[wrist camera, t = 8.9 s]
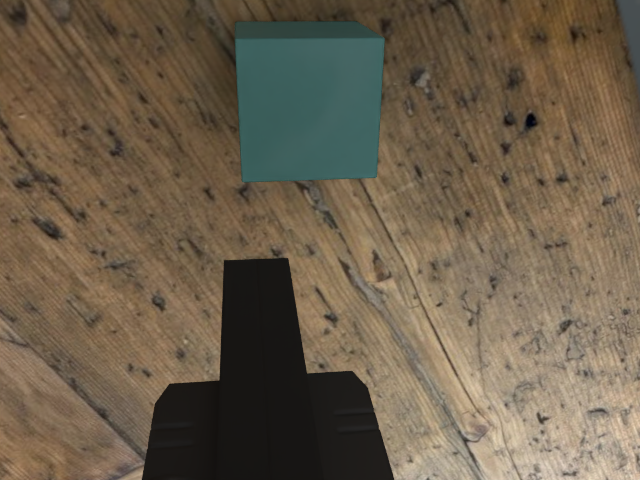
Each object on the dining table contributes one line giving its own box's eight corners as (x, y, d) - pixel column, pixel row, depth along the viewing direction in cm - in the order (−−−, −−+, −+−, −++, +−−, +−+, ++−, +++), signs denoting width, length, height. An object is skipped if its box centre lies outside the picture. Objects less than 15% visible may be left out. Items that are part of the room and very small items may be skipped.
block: (234, 21, 21) (234, 38, 17) (357, 21, 22) (385, 37, 18) (240, 142, 23) (241, 183, 19) (353, 139, 24) (376, 178, 20)
